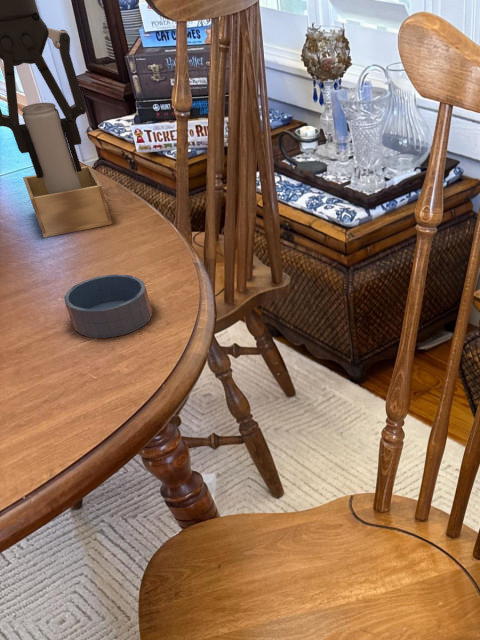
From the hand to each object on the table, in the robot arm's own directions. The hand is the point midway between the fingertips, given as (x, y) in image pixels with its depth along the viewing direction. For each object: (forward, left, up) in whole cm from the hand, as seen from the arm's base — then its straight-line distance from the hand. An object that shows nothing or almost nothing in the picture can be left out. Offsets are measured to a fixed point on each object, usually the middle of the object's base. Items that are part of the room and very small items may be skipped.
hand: (59, 171), depth 115 cm
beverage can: (0, 0, -4) cm, 4 cm away
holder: (0, 0, -7) cm, 7 cm away
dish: (+26, -24, -7) cm, 36 cm away
